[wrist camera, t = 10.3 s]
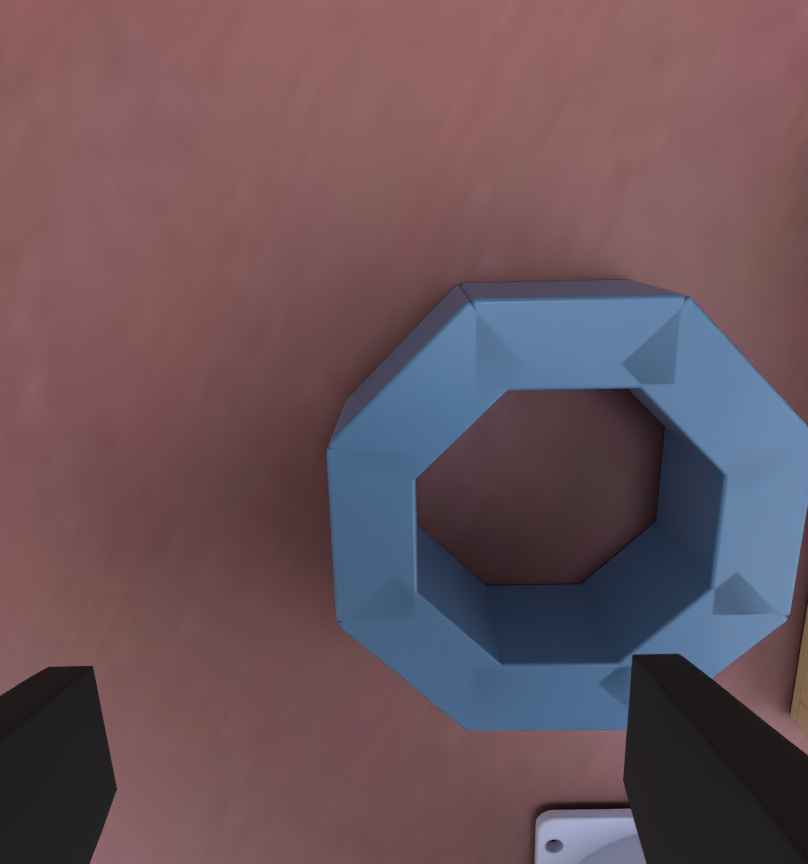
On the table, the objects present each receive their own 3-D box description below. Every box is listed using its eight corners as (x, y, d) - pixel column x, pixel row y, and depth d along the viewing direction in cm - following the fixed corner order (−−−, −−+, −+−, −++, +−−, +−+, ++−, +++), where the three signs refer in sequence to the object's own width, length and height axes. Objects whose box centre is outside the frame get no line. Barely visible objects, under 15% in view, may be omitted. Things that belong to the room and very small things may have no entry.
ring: (709, 639, 19) (773, 730, 16) (354, 643, 19) (341, 733, 16) (754, 276, 16) (845, 290, 13) (336, 285, 16) (317, 301, 13)
